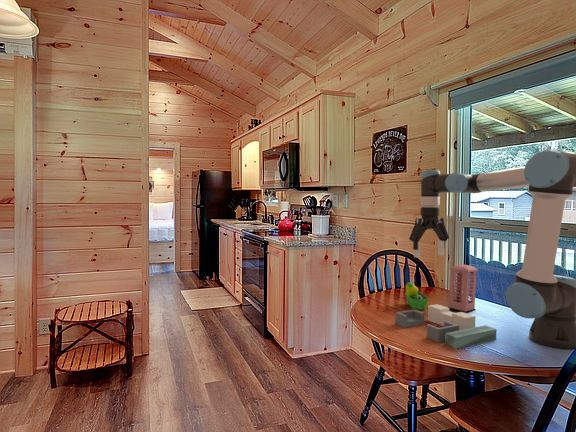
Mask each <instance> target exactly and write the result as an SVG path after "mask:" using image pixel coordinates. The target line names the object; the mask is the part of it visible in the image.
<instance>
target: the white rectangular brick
mask: <svg viewBox="0 0 576 432" xmlns="http://www.w3.org/2000/svg"><path fill="white" fill-rule="evenodd" d="M448 307H449V306H444V305H441V304H438V303H436V304H431V305H428V306H427V314H428V315H427V321H429V322H432V323H434V324H438V325H439V326H441V327H444V322H445V321H448V322H451V323H454V324H457V325H459V330H464V329H469V328H474V327H476V315H473V314H470V313H468V312H467V313H465V312H461V311H458V312H453V311H450V309H449V308H448Z"/></svg>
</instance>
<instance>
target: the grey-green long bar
mask: <svg viewBox="0 0 576 432" xmlns="http://www.w3.org/2000/svg"><path fill="white" fill-rule="evenodd" d="M497 333H498V332H497V328H494V327H492V326H489V325H485V324H484V325H480V326H475V327H474V328H469V329H464V330H459V331H454V332H449V333H445V341H444V344H445V346H449V347H451V348H454V349H459V348H463V347H469V346H474V345H477V344H481V343H487V342H491V341H495V340H497Z"/></svg>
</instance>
